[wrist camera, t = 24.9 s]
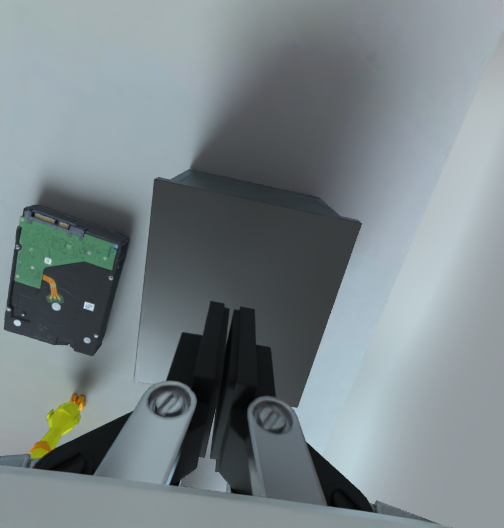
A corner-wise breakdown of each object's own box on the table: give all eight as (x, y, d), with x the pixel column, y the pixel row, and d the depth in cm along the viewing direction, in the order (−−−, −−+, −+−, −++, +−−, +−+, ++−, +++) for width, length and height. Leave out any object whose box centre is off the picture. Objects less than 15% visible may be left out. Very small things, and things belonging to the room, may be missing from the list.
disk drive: (105, 343, 40) (131, 235, 35) (95, 357, 38) (122, 243, 33) (18, 318, 39) (33, 202, 34) (2, 331, 36) (15, 207, 31)
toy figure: (89, 422, 45) (36, 517, 34) (62, 418, 45) (0, 512, 33) (93, 384, 43) (37, 472, 31) (64, 379, 42) (-2, 467, 31)
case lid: (157, 176, 21) (154, 178, 20) (358, 220, 22) (362, 223, 21) (136, 374, 27) (133, 381, 26) (296, 400, 28) (297, 408, 27)
